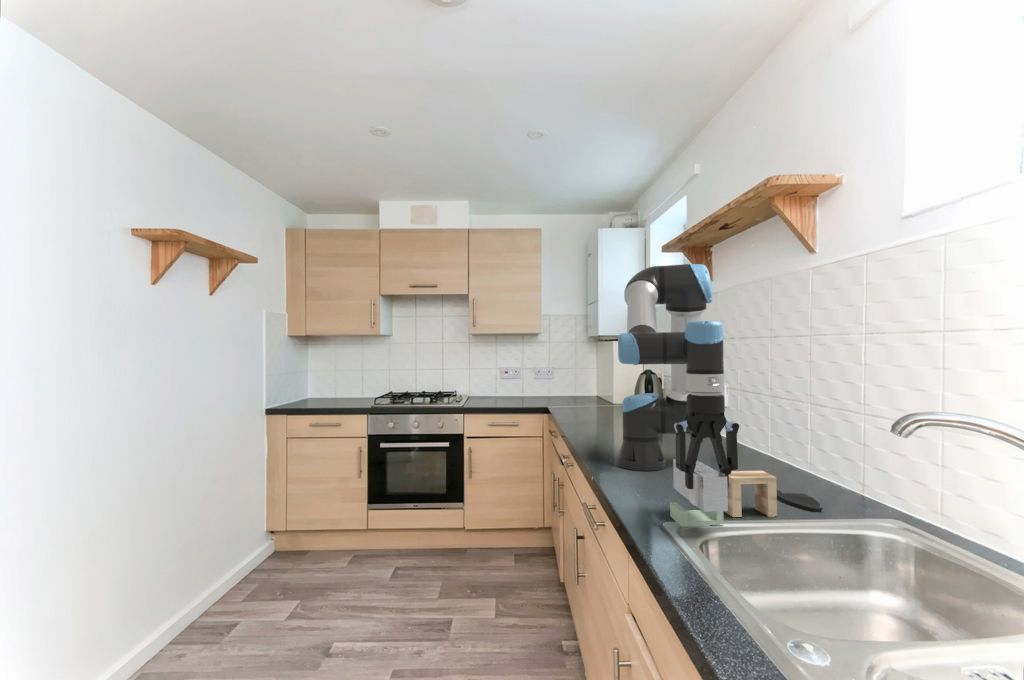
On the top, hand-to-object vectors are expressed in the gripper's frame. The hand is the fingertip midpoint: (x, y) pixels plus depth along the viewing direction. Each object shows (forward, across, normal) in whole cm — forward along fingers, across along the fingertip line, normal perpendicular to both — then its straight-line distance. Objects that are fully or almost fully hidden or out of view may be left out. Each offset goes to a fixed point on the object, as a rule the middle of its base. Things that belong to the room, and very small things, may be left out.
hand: (707, 503), depth 105 cm
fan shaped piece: (+6, +30, +17) cm, 35 cm away
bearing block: (+6, +14, +10) cm, 18 cm away
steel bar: (0, 0, +4) cm, 5 cm away
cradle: (+6, 0, +6) cm, 8 cm away
